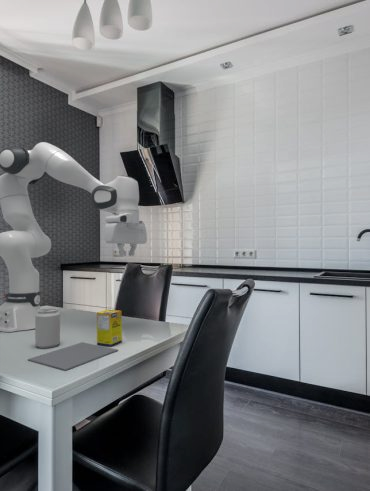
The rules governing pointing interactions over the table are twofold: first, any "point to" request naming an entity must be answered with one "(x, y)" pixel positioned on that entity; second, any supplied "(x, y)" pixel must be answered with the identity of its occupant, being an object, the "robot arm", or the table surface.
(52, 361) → the rubber mat
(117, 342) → the supplement box
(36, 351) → the table surface
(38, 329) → the can
